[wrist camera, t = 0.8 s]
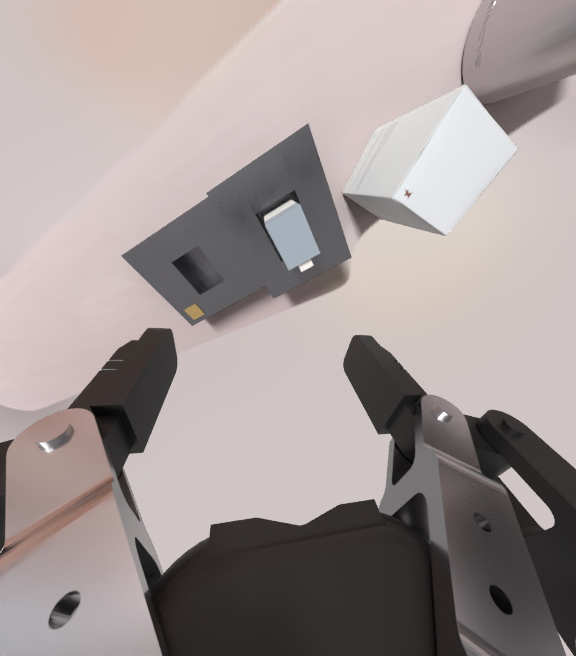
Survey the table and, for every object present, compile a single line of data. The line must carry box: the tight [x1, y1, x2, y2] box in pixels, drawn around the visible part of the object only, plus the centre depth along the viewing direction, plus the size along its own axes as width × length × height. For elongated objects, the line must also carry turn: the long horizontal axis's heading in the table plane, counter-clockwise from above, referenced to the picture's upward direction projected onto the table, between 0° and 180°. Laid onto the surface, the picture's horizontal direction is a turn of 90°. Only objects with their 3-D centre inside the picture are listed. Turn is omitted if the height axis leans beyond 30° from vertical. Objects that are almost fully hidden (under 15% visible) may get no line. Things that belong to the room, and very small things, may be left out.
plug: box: [264, 198, 320, 272], centre depth 20 cm, size 3×5×8 cm, turn 27°
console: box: [122, 124, 351, 326], centre depth 25 cm, size 24×12×9 cm, turn 117°
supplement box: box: [342, 84, 518, 236], centre depth 21 cm, size 7×7×13 cm
